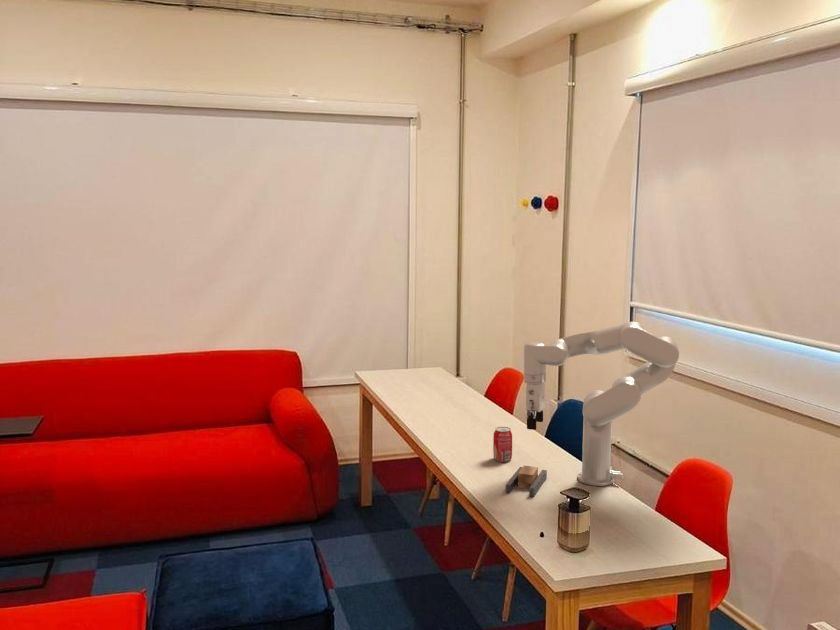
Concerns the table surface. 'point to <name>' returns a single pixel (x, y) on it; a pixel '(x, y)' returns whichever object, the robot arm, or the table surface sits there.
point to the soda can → (502, 444)
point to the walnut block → (527, 476)
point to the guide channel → (534, 487)
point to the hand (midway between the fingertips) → (535, 425)
